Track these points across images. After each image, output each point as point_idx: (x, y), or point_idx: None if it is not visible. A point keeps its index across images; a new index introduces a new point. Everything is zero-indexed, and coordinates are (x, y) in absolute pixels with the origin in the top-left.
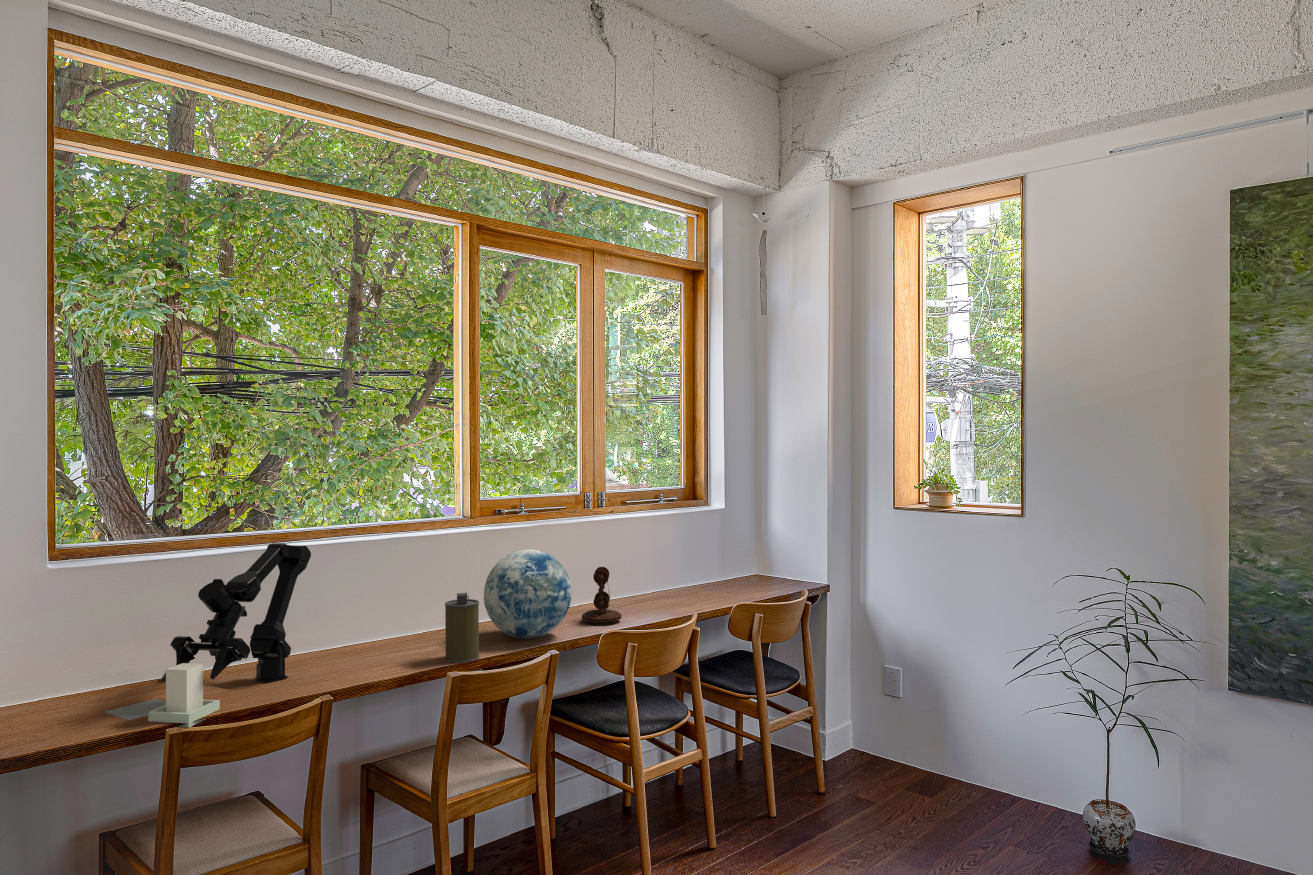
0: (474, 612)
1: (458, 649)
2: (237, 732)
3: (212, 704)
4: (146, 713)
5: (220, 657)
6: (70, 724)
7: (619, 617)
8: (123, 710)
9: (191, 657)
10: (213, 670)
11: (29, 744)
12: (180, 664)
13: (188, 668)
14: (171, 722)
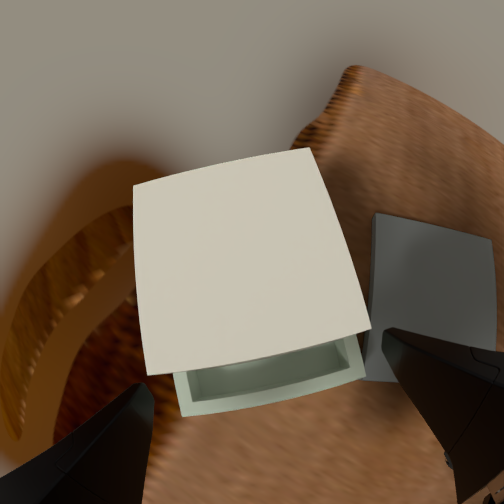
0: None
1: None
2: (39, 277)
3: (174, 374)
4: (395, 275)
5: (46, 455)
6: (474, 180)
7: None
8: (471, 267)
9: (464, 479)
10: (115, 404)
11: (404, 95)
12: (346, 286)
13: (154, 220)
14: None
